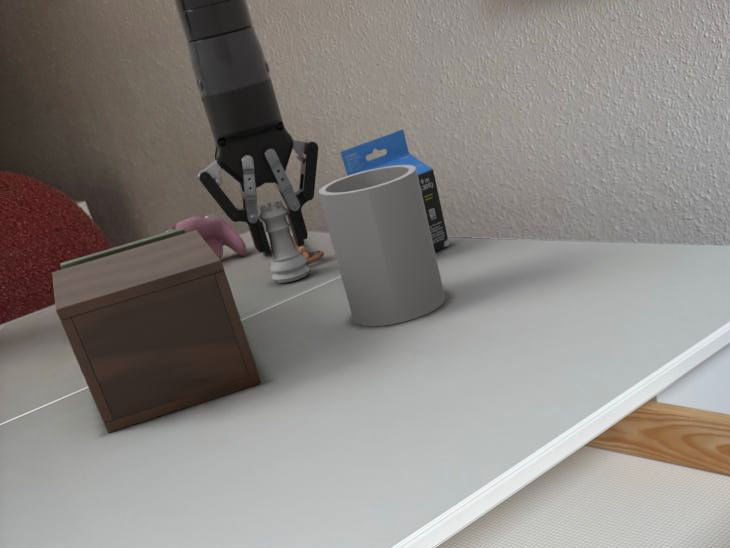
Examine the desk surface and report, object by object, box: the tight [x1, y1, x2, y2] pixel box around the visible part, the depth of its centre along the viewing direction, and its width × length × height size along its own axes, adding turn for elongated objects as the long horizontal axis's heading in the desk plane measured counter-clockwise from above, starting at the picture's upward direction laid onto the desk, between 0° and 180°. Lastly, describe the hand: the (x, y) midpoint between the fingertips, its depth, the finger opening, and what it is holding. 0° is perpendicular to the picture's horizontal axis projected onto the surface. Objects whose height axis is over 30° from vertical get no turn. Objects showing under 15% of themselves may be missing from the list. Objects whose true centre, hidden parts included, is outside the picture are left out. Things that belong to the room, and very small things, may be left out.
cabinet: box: [51, 230, 263, 434], centre depth 98 cm, size 16×14×11 cm
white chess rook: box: [258, 200, 310, 284], centre depth 123 cm, size 4×4×8 cm
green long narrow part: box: [60, 228, 186, 270], centre depth 108 cm, size 20×13×9 cm, turn 20°
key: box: [270, 234, 325, 266], centre depth 133 cm, size 6×1×15 cm
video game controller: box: [164, 213, 248, 260], centre depth 138 cm, size 10×5×7 cm, turn 130°
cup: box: [318, 165, 446, 327], centre depth 103 cm, size 9×9×12 cm
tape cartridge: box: [340, 129, 450, 252], centre depth 118 cm, size 9×4×12 cm, turn 132°
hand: (283, 249), depth 123 cm, fingers closed on white chess rook, 3 cm apart
